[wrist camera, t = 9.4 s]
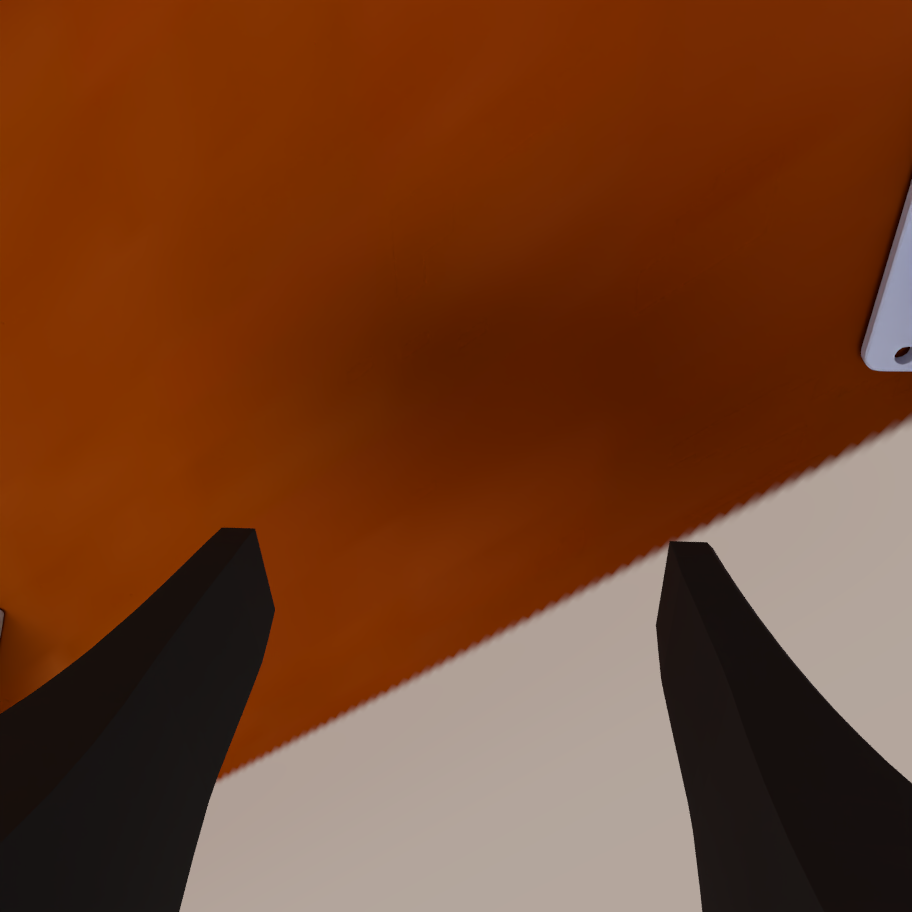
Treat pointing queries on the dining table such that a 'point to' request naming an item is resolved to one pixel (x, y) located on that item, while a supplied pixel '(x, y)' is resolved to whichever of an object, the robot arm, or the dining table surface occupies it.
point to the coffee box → (1, 620)
